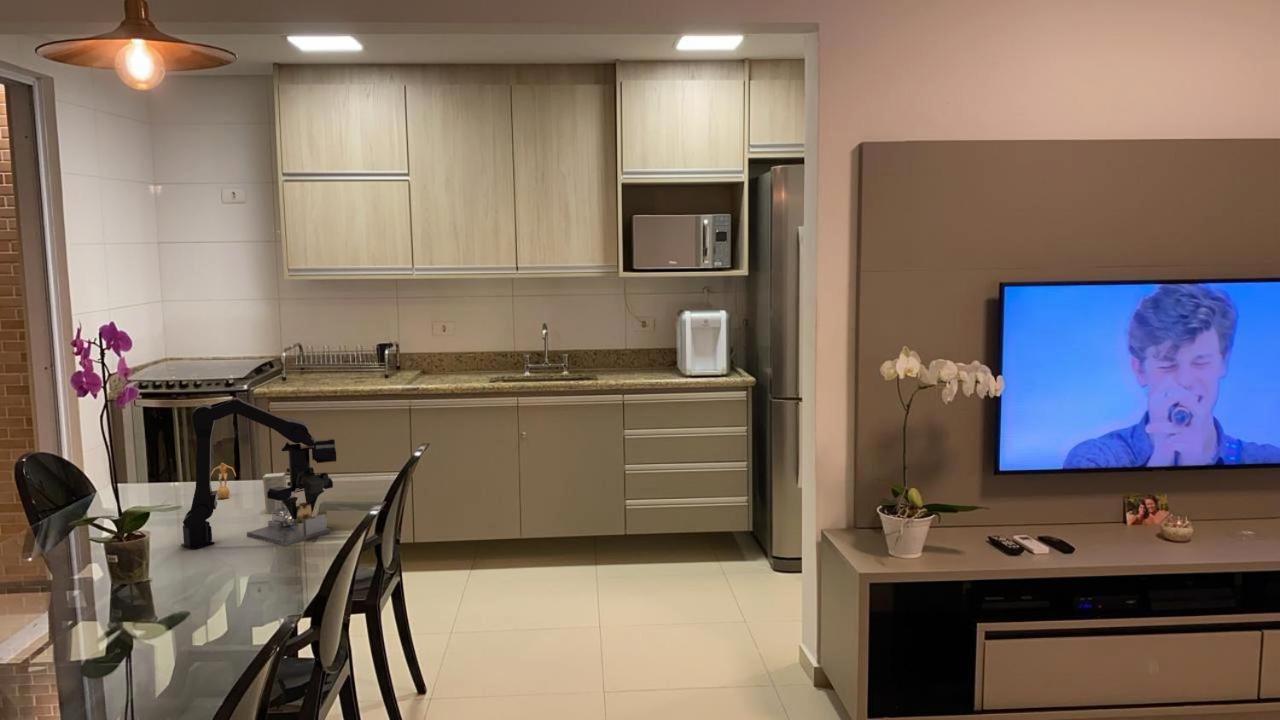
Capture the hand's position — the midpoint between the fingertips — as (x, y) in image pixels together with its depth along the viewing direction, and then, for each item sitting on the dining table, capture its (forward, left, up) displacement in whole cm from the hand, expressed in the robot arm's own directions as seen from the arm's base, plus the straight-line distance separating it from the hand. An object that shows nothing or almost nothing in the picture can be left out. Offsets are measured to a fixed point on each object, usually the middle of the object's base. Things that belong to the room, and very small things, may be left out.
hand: (302, 516), depth 274 cm
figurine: (+13, +60, -5) cm, 62 cm away
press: (-3, +2, -5) cm, 6 cm away
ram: (0, +8, -3) cm, 9 cm away
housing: (0, 0, -1) cm, 1 cm away
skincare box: (+11, +28, -5) cm, 31 cm away
